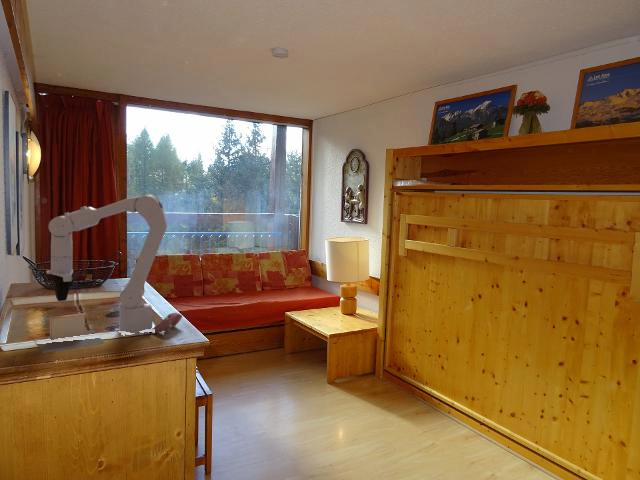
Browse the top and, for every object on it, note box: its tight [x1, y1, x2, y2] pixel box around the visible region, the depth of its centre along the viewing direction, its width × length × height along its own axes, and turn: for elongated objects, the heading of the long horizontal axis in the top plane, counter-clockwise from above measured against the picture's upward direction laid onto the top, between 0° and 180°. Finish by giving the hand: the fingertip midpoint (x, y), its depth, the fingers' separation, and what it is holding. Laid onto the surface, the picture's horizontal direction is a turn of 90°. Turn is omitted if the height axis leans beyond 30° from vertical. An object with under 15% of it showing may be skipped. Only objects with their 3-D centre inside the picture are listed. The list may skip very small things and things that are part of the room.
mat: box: [33, 329, 106, 354], centre depth 135 cm, size 16×13×1 cm
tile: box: [49, 312, 86, 340], centre depth 136 cm, size 9×2×7 cm, turn 131°
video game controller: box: [152, 312, 183, 334], centre depth 152 cm, size 10×5×7 cm, turn 169°
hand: (61, 299), depth 141 cm, fingers closed
